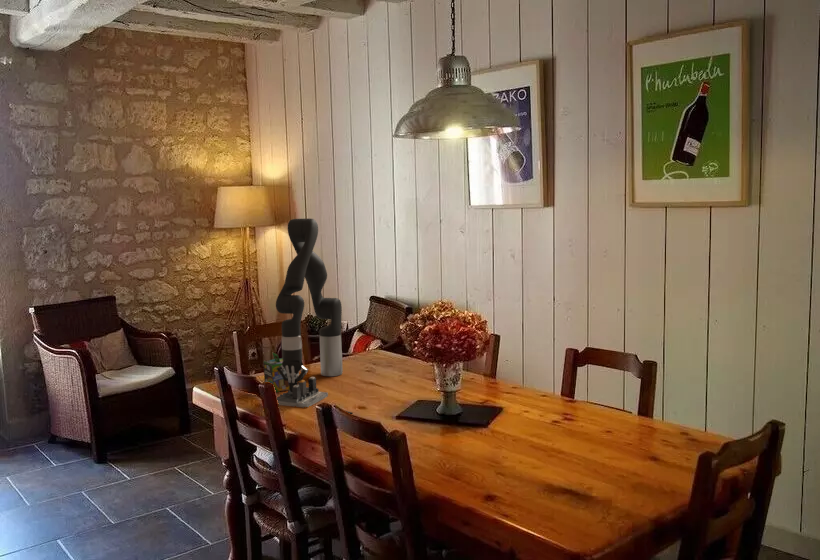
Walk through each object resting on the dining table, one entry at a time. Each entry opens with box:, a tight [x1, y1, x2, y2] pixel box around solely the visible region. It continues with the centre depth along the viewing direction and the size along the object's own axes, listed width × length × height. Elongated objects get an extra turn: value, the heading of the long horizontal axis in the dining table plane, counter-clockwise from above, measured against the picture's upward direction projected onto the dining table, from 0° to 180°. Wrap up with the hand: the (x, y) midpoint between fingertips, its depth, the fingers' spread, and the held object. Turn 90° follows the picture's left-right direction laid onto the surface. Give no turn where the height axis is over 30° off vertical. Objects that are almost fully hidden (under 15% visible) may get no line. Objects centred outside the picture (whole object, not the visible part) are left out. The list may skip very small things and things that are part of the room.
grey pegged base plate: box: [277, 376, 329, 408], centre depth 282 cm, size 17×15×8 cm
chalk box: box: [262, 352, 290, 393], centre depth 298 cm, size 9×9×15 cm
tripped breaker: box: [298, 379, 307, 395], centre depth 282 cm, size 2×2×6 cm
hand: (293, 391), depth 283 cm, fingers closed
